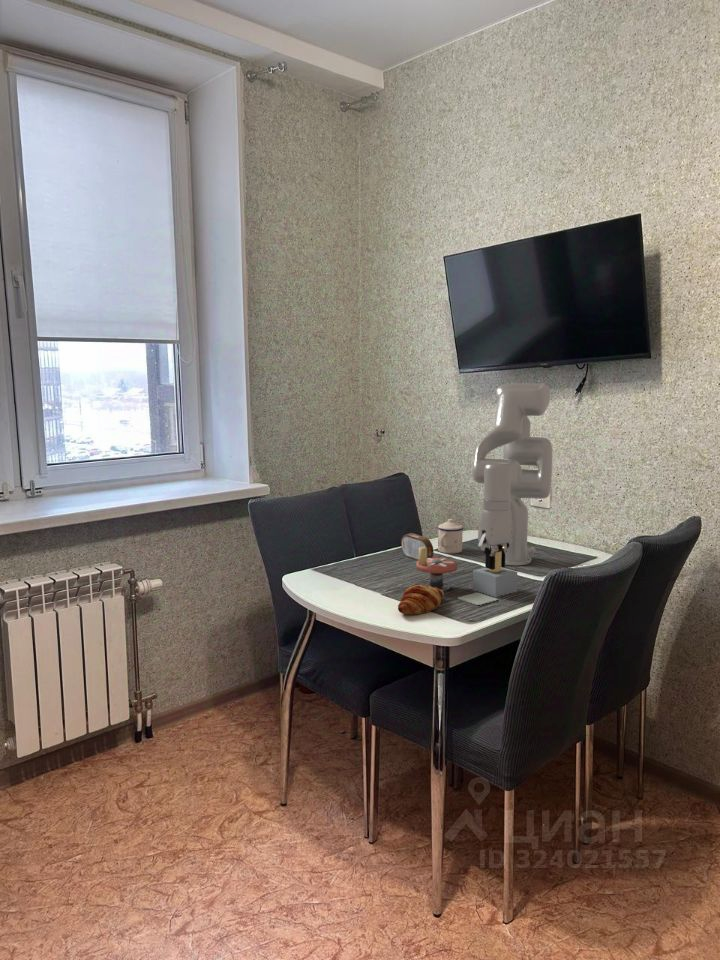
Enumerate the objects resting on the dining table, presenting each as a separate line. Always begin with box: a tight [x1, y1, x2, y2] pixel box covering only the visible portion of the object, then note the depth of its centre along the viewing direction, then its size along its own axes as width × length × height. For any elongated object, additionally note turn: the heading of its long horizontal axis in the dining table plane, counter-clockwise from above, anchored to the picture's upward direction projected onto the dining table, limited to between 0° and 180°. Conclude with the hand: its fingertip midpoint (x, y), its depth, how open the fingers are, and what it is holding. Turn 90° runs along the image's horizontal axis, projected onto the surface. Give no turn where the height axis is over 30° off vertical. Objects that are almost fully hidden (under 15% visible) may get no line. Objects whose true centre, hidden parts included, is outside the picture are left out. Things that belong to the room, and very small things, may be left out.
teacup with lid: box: [437, 518, 464, 554], centre depth 254 cm, size 12×9×12 cm
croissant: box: [397, 584, 445, 616], centre depth 193 cm, size 21×10×8 cm, turn 144°
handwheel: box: [415, 547, 458, 574], centre depth 209 cm, size 12×12×6 cm
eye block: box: [472, 567, 518, 598], centre depth 207 cm, size 9×9×6 cm
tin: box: [400, 532, 435, 561], centre depth 244 cm, size 15×3×8 cm, turn 35°
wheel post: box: [422, 573, 451, 593], centre depth 210 cm, size 8×8×6 cm
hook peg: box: [489, 549, 502, 574], centre depth 207 cm, size 4×4×12 cm
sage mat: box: [457, 592, 499, 606], centre depth 199 cm, size 8×8×1 cm
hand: (495, 566), depth 207 cm, fingers closed on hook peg, 3 cm apart
